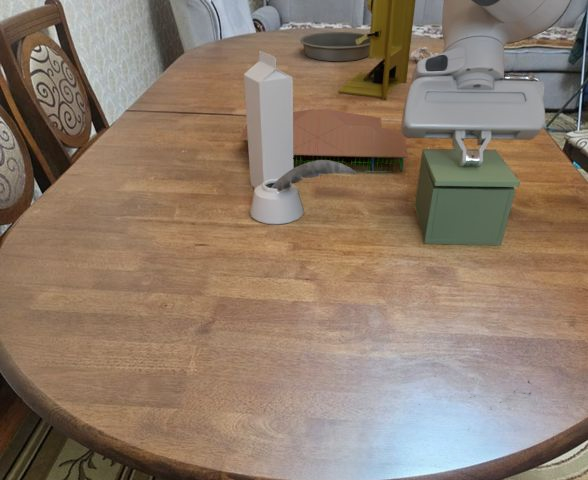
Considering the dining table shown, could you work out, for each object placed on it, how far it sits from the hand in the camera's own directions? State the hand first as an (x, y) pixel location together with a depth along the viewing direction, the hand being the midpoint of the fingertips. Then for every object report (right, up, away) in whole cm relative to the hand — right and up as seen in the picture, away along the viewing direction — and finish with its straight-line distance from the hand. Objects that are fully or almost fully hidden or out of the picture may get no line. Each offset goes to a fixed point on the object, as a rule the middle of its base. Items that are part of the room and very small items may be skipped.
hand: (471, 165), depth 79 cm
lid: (0, 0, +3) cm, 3 cm away
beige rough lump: (+15, +64, +93) cm, 114 cm away
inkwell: (-24, -5, +12) cm, 28 cm away
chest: (0, -7, +9) cm, 11 cm away
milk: (-30, +3, +21) cm, 36 cm away
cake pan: (-11, +71, +102) cm, 125 cm away
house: (-20, +15, +35) cm, 43 cm away
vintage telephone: (-4, +45, +71) cm, 84 cm away
